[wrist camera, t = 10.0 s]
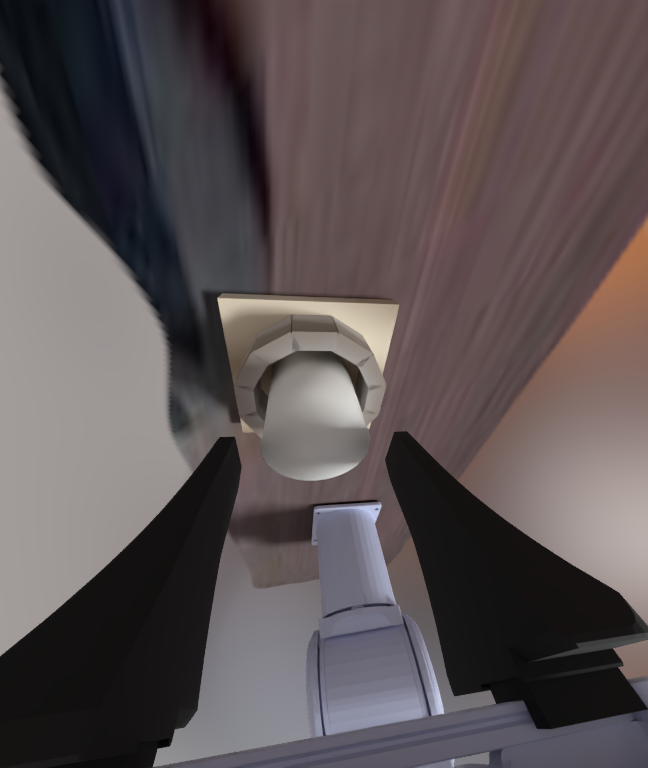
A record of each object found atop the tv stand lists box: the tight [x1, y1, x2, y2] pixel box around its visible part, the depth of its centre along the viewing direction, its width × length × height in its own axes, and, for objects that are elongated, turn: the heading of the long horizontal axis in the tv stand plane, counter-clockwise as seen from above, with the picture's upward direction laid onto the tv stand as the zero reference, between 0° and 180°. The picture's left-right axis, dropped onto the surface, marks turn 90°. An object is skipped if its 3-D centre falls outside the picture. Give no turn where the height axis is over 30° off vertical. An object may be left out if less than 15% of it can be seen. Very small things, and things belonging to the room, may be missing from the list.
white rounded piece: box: [261, 351, 370, 481], centre depth 13 cm, size 5×5×6 cm
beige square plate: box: [217, 293, 399, 439], centre depth 15 cm, size 10×10×4 cm
